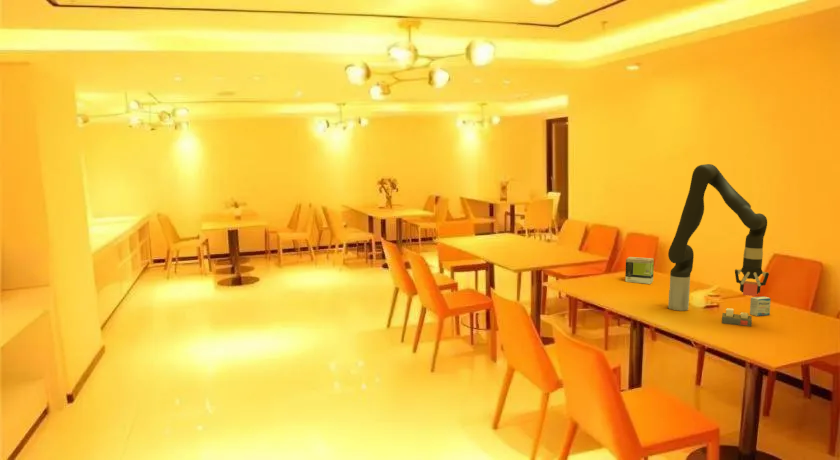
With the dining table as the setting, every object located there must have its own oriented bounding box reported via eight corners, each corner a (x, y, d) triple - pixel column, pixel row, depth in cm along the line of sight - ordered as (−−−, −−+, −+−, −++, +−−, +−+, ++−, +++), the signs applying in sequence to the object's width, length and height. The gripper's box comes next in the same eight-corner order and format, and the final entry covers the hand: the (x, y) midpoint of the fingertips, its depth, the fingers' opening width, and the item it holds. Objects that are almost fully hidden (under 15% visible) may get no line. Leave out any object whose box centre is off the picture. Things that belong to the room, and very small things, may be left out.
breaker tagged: (740, 323, 262) (740, 313, 262) (740, 321, 265) (740, 312, 264) (747, 324, 261) (748, 314, 260) (747, 322, 264) (748, 313, 263)
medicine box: (756, 316, 274) (758, 299, 273) (749, 314, 278) (750, 297, 277) (769, 315, 276) (771, 298, 275) (762, 312, 280) (763, 295, 279)
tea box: (653, 281, 351) (654, 258, 349) (650, 284, 343) (651, 260, 341) (628, 278, 359) (629, 256, 357) (624, 281, 351) (625, 258, 349)
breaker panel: (721, 323, 264) (722, 317, 263) (722, 318, 271) (722, 312, 271) (751, 326, 258) (751, 320, 258) (750, 322, 265) (751, 315, 265)
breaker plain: (725, 318, 265) (726, 309, 265) (725, 317, 268) (726, 308, 267) (732, 319, 264) (733, 310, 263) (732, 318, 266) (733, 308, 266)
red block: (743, 294, 260) (744, 283, 259) (742, 292, 264) (743, 280, 264) (756, 296, 257) (757, 284, 256) (756, 293, 262) (757, 282, 261)
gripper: (735, 257, 258) (732, 292, 261) (771, 260, 252) (768, 296, 254) (734, 254, 265) (732, 289, 267) (770, 257, 258) (767, 292, 261)
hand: (749, 292), depth 261 cm, fingers closed on red block, 5 cm apart
